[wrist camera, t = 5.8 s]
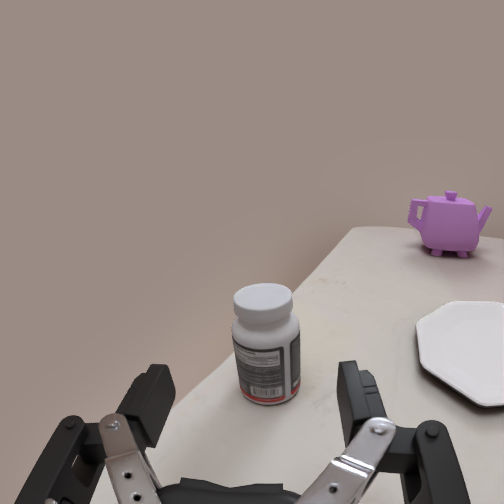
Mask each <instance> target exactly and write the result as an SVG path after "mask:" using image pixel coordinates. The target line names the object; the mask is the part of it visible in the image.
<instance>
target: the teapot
mask: <svg viewBox="0 0 504 504" xmlns="http://www.w3.org/2000/svg"><path fill="white" fill-rule="evenodd" d="M445 195H446V197H444V196H428V197H427V199H426V200H418V199H412V200H411V205H410V210H409V215H408V223H410V224H411V225H412V226H413V227H415V228H416V229H417V230H418V231H420V234H421V237H422V240H423V242H424V244H425V246H426V247H428V248H432V249H433V250H432V252H431V254H432V255H434V256H441V255H442V252H443V250H447V251H457V255H458V256H459V257H464V258H465V257H468V255H467V252H466V251H474V250H475V248H476V246H477V244H478V242H479V234H480V232H481V230H482V228H483V226H484V225H485V223H486V221H487V219H488V217H489V215H490V213H491V211H492V208H491V207H488V206H485V207H484V208H483V210H482V211H481V212H480V213H479V214H478V216H477V211H476V207H475V205H474V203H472V202H471V201H469V200H467V199H464V198H456V196H457V192H454V191H445ZM418 206H423V207H424V208H423V212H422V216H421V220H419V219H418V218H417V208H418Z"/></svg>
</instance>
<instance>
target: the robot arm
mask: <svg viewBox="0 0 504 504" xmlns="http://www.w3.org/2000/svg"><path fill="white" fill-rule="evenodd" d="M175 393H176V391H175V386H174V383H173V380H172V377H171V374H170V371H169V368H168V366H167V365H164V364H151V365H150V367H149V369H148V370H147V372H146V373H141V374H140V375H139V376H138V377H137V378H136V379H135V380H134V381H133V383H132V385H131V388H129V390H128V392H127V394H126V395H125V397H124V399H123V400H122V402H121V404H120V405H119V407H118V409H117V411H116V412H115V413H114V414H109V415H107V416H105V417H104V418H102V419H101V421H100V422H99V423H84V421H83V420H82V418H80V417H79V416H75V415H72V416H68V417H66V418H64V419H63V420H62V421H61V422H60V423H59V425H58V427H57V428H56V430H55V432H54V433H53V435H52V436H51V438H50V440H49V442H48V443H47V445H46V447H45V449H44V450H43V452H42V454H41V455H40V457H39V459H38V461H37V462H36V464H35V466H34V468H33V469H32V471H31V473H30V475H29V477H28V478H27V480H26V482H25V484H24V486H23V488H22V490H21V492H20V493H19V495H18V497H17V499H16V501H15V503H14V504H89V503H90V501H91V498H92V496H93V493H94V491H95V488H96V486H97V483H98V481H99V478H100V476H101V473H102V471H103V469H104V466H105V464H106V468H107V471H108V474H109V477H110V480H111V483H112V486H113V489H114V492H115V495H116V497H117V500H118V503H119V504H358V503H359V501H360V500H361V498H362V497H363V496H364V494H365V493H366V491H367V490H368V488H369V487H370V485H371V484H372V482H373V481H374V479H375V478H376V476H377V475H378V473H379V472H386V473H400V478H401V484H402V490H403V496H404V503H405V504H471V503H470V499H469V495H468V492H467V488H466V485H465V481H464V478H463V475H462V471H461V468H460V465H459V462H458V459H457V456H456V453H455V450H454V447H453V444H452V441H451V439H450V436H449V433H448V430H447V428H446V427H445V425H444V424H442V423H441V422H439V421H435V420H428V421H425V422H423V423H421V424H420V425H419V426H418V427H417V428H404V427H399V426H396V425H395V424H394V423H393V422H392V421H391V420H390V419H388V417H387V415H386V412H385V409H384V406H383V402H382V399H381V396H380V393H379V390H378V387H377V384H376V381H375V379H374V376H373V375H372V374H371V373H370V372H369V371H368V370H362V371H359V370H358V366H357V363H356V361H355V360H354V361H344V362H339V367H338V378H337V400H338V405H339V411H340V417H341V423H342V429H343V435H344V441H345V448H346V449H345V451H344V452H343V453H342V455H341V456H340V457H336V458H334V459H333V460H332V461H331V462H330V464H329V465H328V466H327V467H326V468H325V470H324V471H323V472H322V473H321V474H320V475H319V477H318V478H317V479H316V480H315V481H314V482H313V484H312V485H311V486H310V487H309V488H308V489H307V490H306V491H305V492H304V493H303V495H302V496H301V495H299V494H297V493H294V492H291V491H287V490H283V484H252V485H246V486H240V487H233V488H228V487H224V486H221V485H218V484H215V483H211V482H208V481H205V480H197V479H189V478H182V477H181V480H180V484H173V485H168V486H165V487H162V486H161V484H160V482H159V480H158V479H157V476H156V474H155V472H154V470H153V468H152V466H151V464H150V462H149V460H148V457H147V455H146V453H145V450H146V447H151V448H155V447H156V445H157V442H158V440H159V437H160V435H161V432H162V430H163V427H164V425H165V422H166V420H167V417H168V415H169V412H170V410H171V407H172V405H173V402H174V399H175ZM77 455H78V456H77ZM76 456H77V458H76ZM75 458H76V460H75ZM74 460H75V462H74ZM73 462H74V464H73ZM72 464H73V466H72Z"/></svg>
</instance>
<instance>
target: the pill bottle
mask: <svg viewBox="0 0 504 504" xmlns="http://www.w3.org/2000/svg"><path fill="white" fill-rule="evenodd" d="M233 302H234V312H235V314H236V315H237V318H236V319H235V320H234V322H233V324H232V339H233V345H234V351H235V357H236V364H237V370H238V376H239V383H240V388H241V391H242V393H243V394H244V395H245V396H246V397H247V398H248V399H249V400H251V401H253V402H255V403H258V404H264V405H273V404H279V403H282V402H284V401H287V400H288V399H290V398H291V397H293V396H294V395H295V394H296V392H297V391H298V389H299V386H300V325H299V320H298V318H297V317H296V315H295V314H294V313H293V312H292V308H293V300H292V293H291V291H290V290H289V289H288V288H287V287H285V286H283V285H279V284H273V283H261V284H254V285H250V286H247V287H244V288H242V289H240V290H239V291H237V292H236V293H235V295H234V297H233Z"/></svg>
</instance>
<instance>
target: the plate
mask: <svg viewBox="0 0 504 504" xmlns="http://www.w3.org/2000/svg"><path fill="white" fill-rule="evenodd" d="M416 334H417V342H418V350H419V359H420V365H421V366H422V368H423V369H424V370H425V371H426V372H428V373H429V374H431V375H432V376H434V377H435V378H437V379H438V380H440V381H441V382H443V383H444V384H446V385H447V386H448V387H450V388H451V389H453V390H454V391H456V392H457V393H459V394H460V395H462V396H463V397H465V398H466V399H468V400H469V401H471V402H472V403H474V404H475V405H477V406H480V407H484V408H491V407H503V406H504V304H502V303H498V302H471V301H452V302H448V303H447V304H445V305H443V306H442V307H440V308H439V309H437V310H435V311H434V312H432V313H430V314H429V315H427V316H425V317H423V318H422V319H420V320H418V321H417V323H416Z"/></svg>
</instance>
